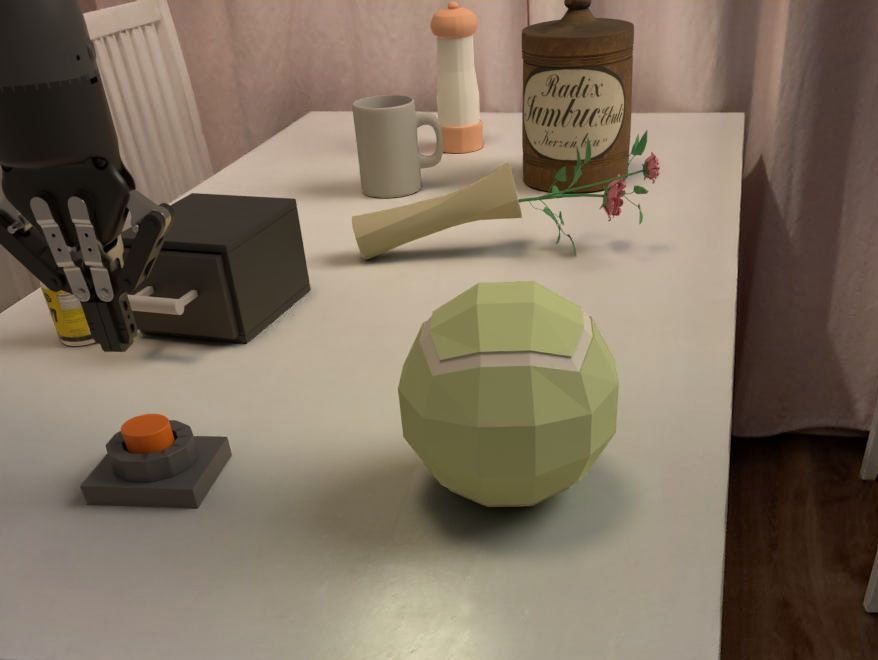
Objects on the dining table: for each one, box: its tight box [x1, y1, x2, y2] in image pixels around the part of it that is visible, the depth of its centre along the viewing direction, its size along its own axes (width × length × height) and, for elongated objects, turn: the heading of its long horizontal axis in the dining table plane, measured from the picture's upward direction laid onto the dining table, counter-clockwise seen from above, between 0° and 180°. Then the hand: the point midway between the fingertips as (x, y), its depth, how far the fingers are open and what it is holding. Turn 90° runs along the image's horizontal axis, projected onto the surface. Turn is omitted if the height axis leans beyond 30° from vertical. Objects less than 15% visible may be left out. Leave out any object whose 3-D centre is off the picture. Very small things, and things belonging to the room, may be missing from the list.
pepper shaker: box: [429, 0, 484, 154], centre depth 140 cm, size 7×7×19 cm
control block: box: [79, 419, 233, 509], centre depth 72 cm, size 9×8×4 cm
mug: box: [351, 94, 444, 199], centre depth 127 cm, size 12×8×11 cm
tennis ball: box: [397, 280, 620, 508], centre depth 65 cm, size 15×15×15 cm
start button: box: [120, 413, 174, 454], centre depth 71 cm, size 4×4×2 cm
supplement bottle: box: [39, 280, 96, 347], centre depth 93 cm, size 5×5×8 cm
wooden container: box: [521, 0, 635, 194], centre depth 123 cm, size 15×15×22 cm
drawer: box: [122, 248, 240, 339], centre depth 93 cm, size 18×11×8 cm, turn 162°
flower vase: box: [351, 129, 660, 261], centre depth 107 cm, size 12×12×35 cm
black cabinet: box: [121, 192, 312, 344], centre depth 96 cm, size 15×13×10 cm
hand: (119, 347), depth 66 cm, fingers closed
